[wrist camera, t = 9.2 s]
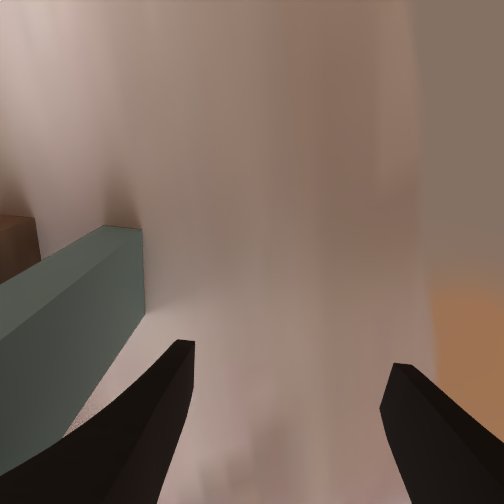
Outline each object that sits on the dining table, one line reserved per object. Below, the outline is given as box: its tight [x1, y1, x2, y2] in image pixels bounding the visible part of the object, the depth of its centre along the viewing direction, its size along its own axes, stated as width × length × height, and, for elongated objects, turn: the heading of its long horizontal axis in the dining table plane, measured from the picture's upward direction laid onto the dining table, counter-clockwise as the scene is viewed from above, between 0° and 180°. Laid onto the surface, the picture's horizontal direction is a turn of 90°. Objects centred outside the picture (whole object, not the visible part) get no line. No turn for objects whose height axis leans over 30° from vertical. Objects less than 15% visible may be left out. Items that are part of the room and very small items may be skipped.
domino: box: [0, 226, 145, 476], centre depth 12 cm, size 5×2×10 cm, turn 175°
